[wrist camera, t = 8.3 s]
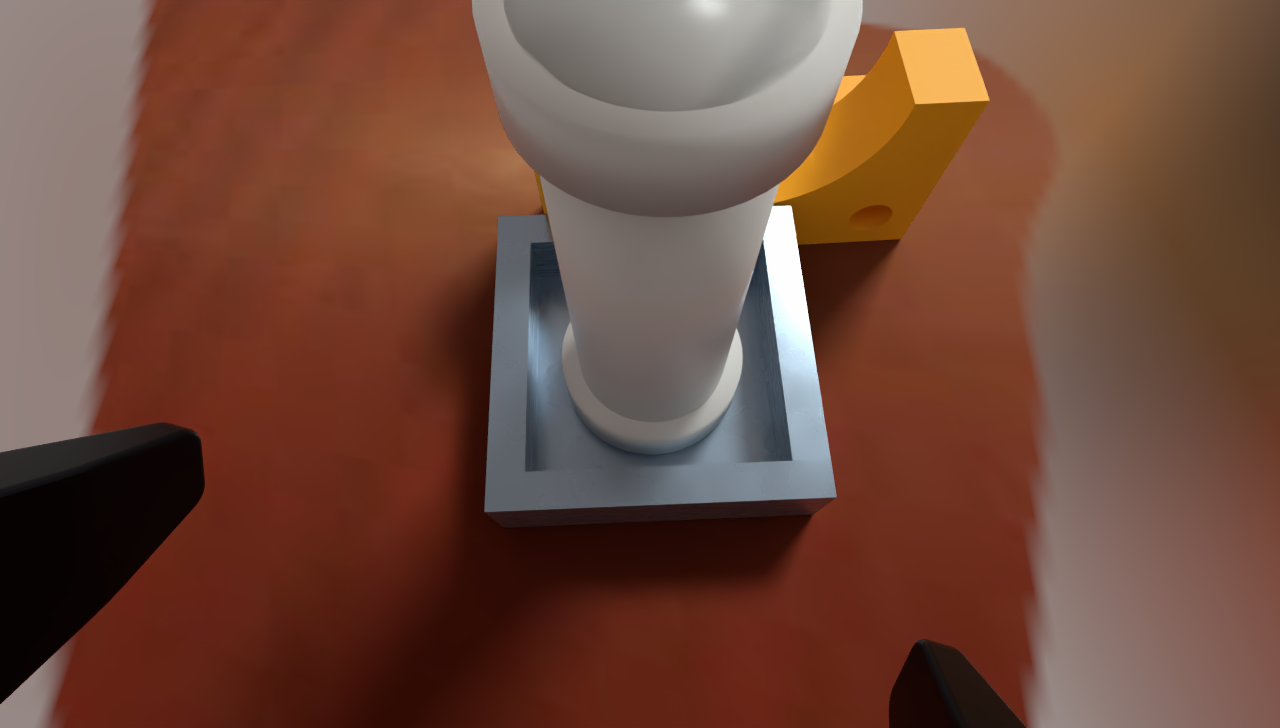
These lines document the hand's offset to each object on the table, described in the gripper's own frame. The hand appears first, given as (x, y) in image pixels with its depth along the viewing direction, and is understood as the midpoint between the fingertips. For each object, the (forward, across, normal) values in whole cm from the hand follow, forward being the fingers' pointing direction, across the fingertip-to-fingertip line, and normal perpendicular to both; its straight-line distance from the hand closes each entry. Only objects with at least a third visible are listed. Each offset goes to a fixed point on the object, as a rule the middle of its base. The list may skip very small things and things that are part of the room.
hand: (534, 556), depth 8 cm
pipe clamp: (+18, 0, -2) cm, 18 cm away
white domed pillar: (+12, 0, +3) cm, 13 cm away
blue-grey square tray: (+13, 0, +3) cm, 13 cm away
